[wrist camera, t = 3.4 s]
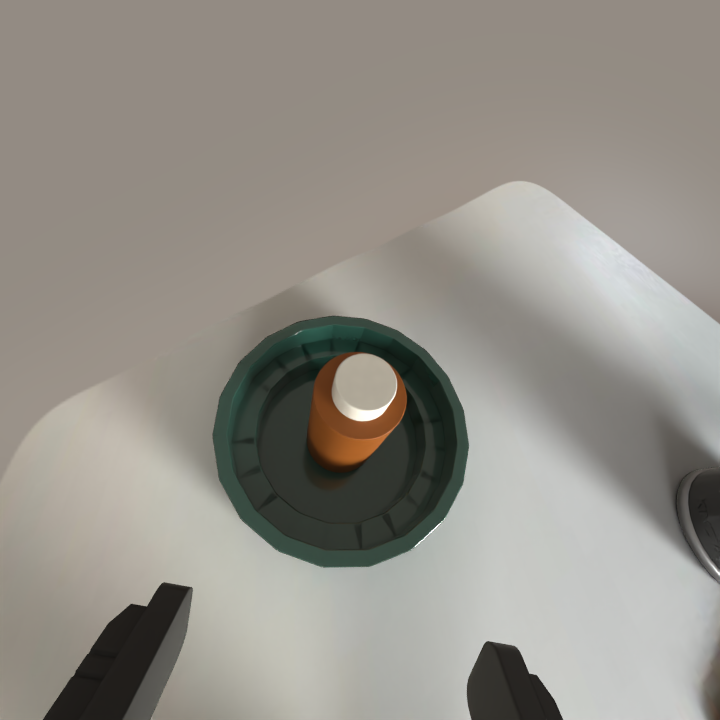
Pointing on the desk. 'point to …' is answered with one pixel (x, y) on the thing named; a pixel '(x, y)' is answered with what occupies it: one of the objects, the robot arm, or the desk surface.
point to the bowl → (326, 488)
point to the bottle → (353, 410)
